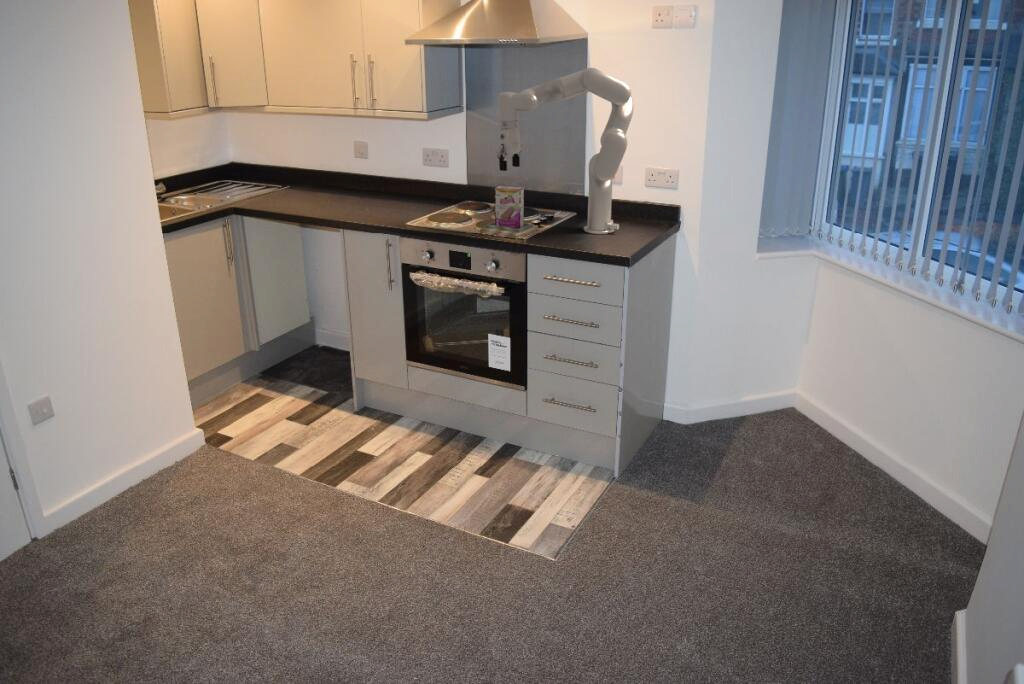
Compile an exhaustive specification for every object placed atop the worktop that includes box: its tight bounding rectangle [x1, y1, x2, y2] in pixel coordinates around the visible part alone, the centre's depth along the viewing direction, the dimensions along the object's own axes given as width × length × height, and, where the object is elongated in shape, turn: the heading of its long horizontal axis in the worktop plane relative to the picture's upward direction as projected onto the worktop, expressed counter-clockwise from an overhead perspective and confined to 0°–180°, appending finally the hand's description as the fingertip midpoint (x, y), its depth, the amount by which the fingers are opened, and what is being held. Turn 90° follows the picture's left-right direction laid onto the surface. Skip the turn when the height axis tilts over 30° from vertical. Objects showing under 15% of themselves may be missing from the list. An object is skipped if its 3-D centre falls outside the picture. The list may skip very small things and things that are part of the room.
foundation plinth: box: [479, 220, 539, 240], centre depth 338 cm, size 18×17×3 cm
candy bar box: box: [494, 185, 525, 229], centre depth 335 cm, size 11×5×16 cm, turn 73°
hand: (509, 168), depth 329 cm, fingers open, 9 cm apart
